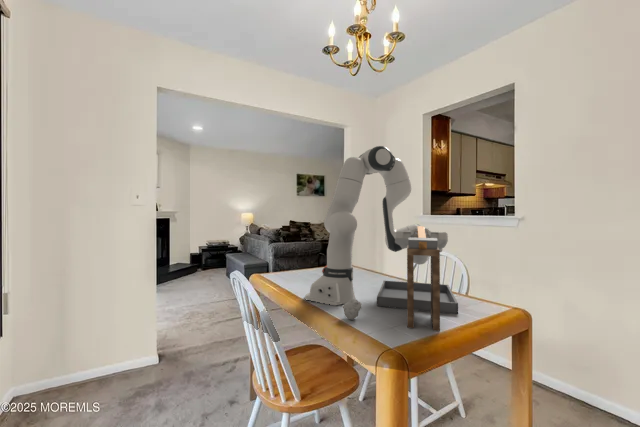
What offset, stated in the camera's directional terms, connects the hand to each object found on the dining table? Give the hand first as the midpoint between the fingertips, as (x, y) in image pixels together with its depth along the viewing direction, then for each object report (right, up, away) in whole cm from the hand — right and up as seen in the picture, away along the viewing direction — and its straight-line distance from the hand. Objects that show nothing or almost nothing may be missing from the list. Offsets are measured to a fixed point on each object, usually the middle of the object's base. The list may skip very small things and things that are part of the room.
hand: (421, 229), depth 111 cm
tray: (+3, -32, +15) cm, 35 cm away
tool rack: (-4, -31, -12) cm, 34 cm away
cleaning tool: (-2, -3, -6) cm, 8 cm away
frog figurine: (-28, -32, -9) cm, 43 cm away
